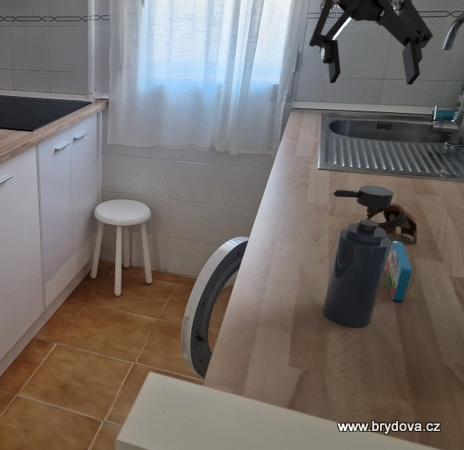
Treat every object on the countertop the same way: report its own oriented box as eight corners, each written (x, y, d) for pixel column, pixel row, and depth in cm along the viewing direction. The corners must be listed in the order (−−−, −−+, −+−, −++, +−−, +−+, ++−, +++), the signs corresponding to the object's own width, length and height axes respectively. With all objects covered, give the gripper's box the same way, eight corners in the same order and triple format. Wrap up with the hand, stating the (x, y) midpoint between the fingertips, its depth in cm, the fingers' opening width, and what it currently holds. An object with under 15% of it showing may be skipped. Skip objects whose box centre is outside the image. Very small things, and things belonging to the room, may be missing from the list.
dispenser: (361, 306, 90) (384, 215, 84) (377, 329, 84) (403, 233, 77) (317, 302, 91) (336, 212, 85) (329, 326, 85) (351, 230, 78)
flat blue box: (385, 270, 102) (392, 240, 99) (394, 271, 101) (402, 241, 99) (392, 300, 91) (401, 268, 89) (402, 302, 91) (412, 270, 88)
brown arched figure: (422, 252, 109) (411, 220, 106) (371, 261, 115) (358, 231, 112) (418, 218, 118) (407, 188, 115) (370, 227, 124) (359, 199, 121)
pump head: (381, 207, 82) (386, 186, 81) (392, 218, 78) (398, 196, 77) (326, 204, 83) (330, 183, 82) (334, 215, 79) (339, 193, 78)
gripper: (423, -9, 97) (440, 94, 89) (285, -9, 100) (290, 90, 92) (445, -44, 90) (467, 64, 82) (297, -42, 93) (304, 62, 85)
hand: (373, 78), depth 87 cm, fingers open, 11 cm apart
